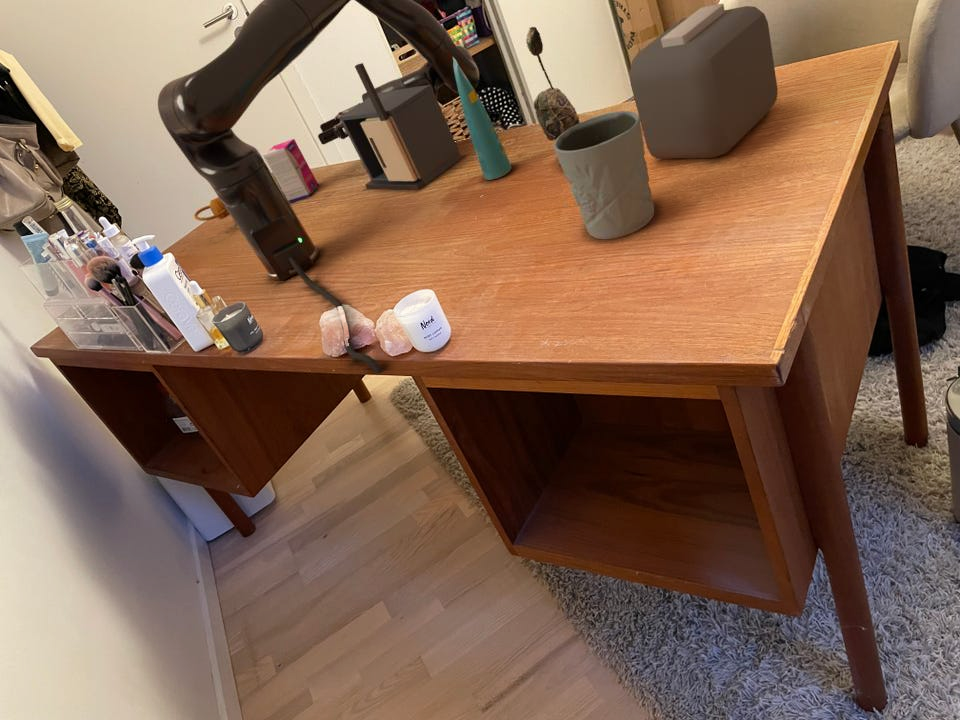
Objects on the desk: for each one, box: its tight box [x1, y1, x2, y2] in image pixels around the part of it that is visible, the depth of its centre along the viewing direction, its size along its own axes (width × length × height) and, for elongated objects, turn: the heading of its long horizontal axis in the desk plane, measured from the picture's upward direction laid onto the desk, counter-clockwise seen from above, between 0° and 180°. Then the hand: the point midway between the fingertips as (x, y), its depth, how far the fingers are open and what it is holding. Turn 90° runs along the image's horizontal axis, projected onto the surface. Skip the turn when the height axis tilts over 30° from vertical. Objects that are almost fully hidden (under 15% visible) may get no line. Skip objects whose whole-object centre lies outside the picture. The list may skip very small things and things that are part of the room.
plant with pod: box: [525, 26, 581, 168], centre depth 102 cm, size 8×11×20 cm
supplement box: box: [262, 138, 319, 204], centre depth 150 cm, size 6×6×12 cm
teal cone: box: [453, 57, 512, 181], centre depth 111 cm, size 7×5×19 cm, turn 13°
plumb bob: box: [193, 171, 283, 222], centre depth 155 cm, size 9×9×25 cm
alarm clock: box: [629, 3, 779, 160], centre depth 89 cm, size 16×11×16 cm
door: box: [354, 62, 417, 181], centre depth 123 cm, size 1×9×22 cm, turn 44°
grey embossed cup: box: [552, 110, 655, 240], centre depth 82 cm, size 10×10×12 cm
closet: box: [339, 85, 463, 191], centre depth 130 cm, size 12×18×14 cm, turn 44°
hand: (320, 135), depth 147 cm, fingers open, 8 cm apart
